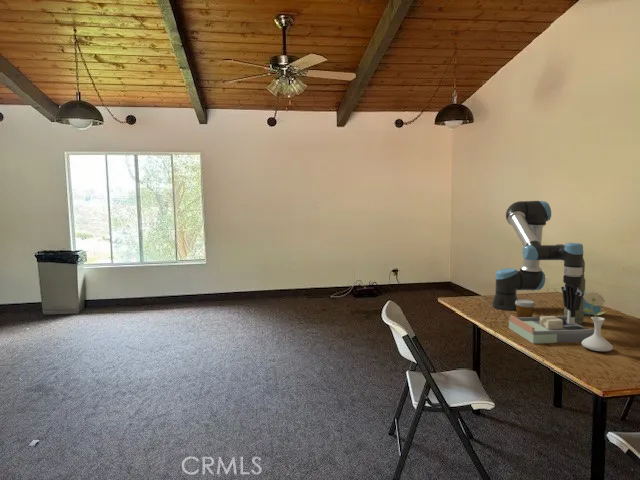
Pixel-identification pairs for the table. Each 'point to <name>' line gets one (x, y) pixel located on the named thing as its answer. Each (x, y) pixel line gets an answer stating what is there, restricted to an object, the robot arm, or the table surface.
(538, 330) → the box
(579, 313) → the thermos
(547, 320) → the birch block
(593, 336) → the flower in vase
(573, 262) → the robot arm
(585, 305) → the data package
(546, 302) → the table surface
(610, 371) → the table surface
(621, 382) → the table surface
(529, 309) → the disposable coffee cup
